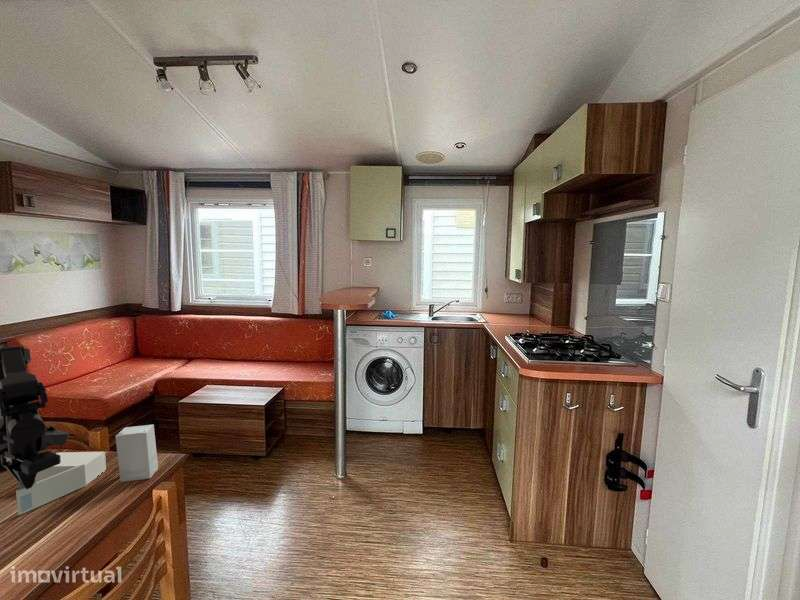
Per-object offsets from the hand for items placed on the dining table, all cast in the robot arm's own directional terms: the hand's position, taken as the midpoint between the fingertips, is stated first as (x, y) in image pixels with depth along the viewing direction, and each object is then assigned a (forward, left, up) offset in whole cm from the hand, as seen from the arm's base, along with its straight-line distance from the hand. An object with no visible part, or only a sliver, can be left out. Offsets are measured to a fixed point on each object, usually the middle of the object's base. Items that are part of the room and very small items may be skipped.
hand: (27, 487), depth 93 cm
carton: (-2, +15, -7) cm, 16 cm away
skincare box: (+17, +15, -7) cm, 24 cm away
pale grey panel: (+2, +4, -6) cm, 8 cm away
